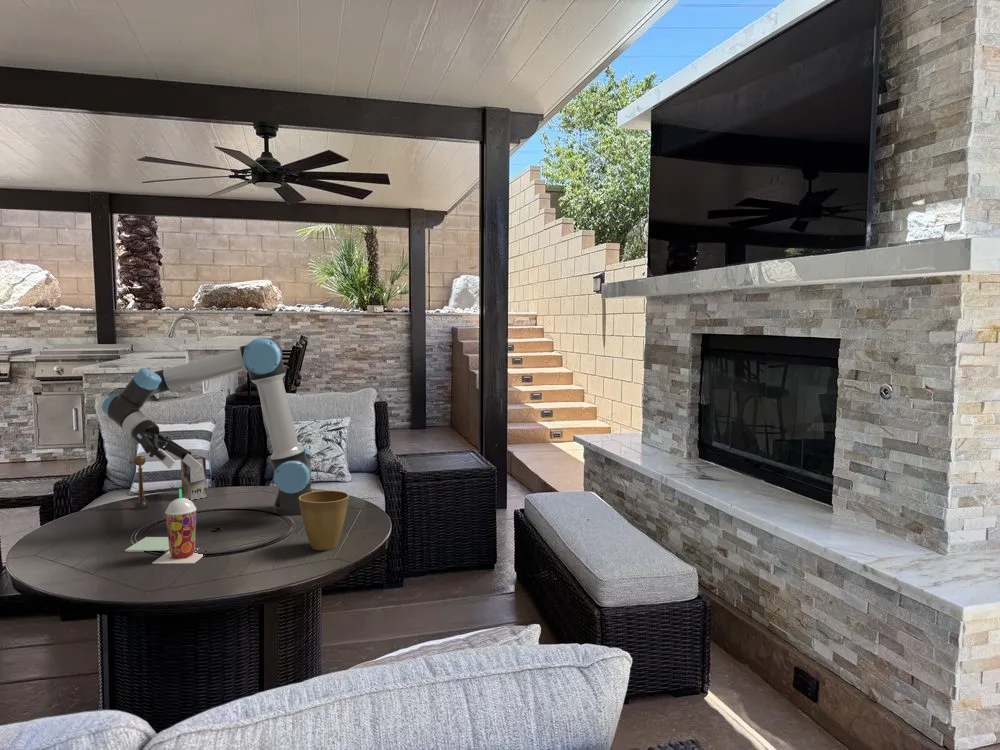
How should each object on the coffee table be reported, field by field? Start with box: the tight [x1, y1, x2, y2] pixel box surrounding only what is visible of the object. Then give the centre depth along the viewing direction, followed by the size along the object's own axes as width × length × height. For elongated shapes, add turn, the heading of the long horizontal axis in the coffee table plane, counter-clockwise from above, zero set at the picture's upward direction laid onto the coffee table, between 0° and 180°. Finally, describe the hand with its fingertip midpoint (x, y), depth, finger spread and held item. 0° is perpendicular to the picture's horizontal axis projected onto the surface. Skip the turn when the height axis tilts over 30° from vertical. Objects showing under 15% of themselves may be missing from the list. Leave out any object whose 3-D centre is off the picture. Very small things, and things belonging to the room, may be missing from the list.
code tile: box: [151, 548, 204, 565], centre depth 195 cm, size 12×12×1 cm
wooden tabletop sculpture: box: [128, 455, 150, 511], centre depth 244 cm, size 6×5×20 cm
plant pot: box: [299, 490, 350, 551], centre depth 203 cm, size 15×15×16 cm
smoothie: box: [164, 488, 198, 558], centre depth 194 cm, size 8×8×20 cm
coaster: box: [124, 536, 169, 553], centre depth 204 cm, size 12×12×1 cm
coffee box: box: [180, 454, 208, 501], centre depth 260 cm, size 9×6×16 cm
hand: (186, 467), depth 206 cm, fingers open, 13 cm apart
